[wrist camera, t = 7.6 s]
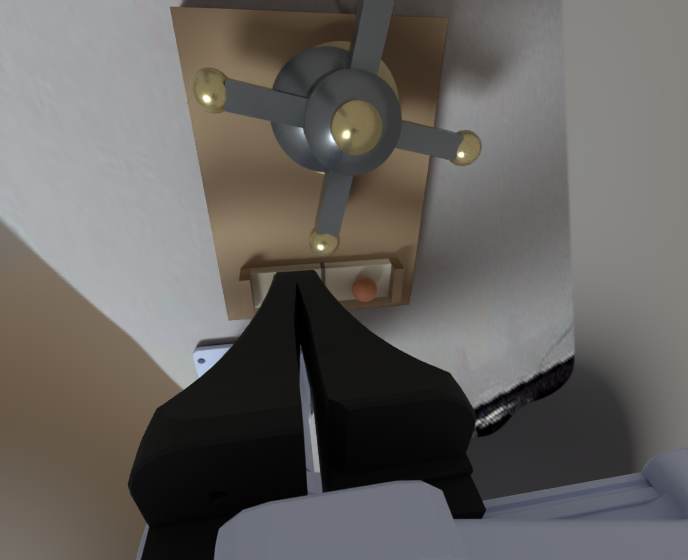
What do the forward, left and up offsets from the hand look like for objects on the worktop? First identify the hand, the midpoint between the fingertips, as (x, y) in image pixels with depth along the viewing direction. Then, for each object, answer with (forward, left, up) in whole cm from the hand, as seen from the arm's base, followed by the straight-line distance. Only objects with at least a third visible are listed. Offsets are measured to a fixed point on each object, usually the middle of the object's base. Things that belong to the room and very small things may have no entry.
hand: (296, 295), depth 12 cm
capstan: (+5, -3, -8) cm, 10 cm away
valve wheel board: (+1, -2, -10) cm, 11 cm away
